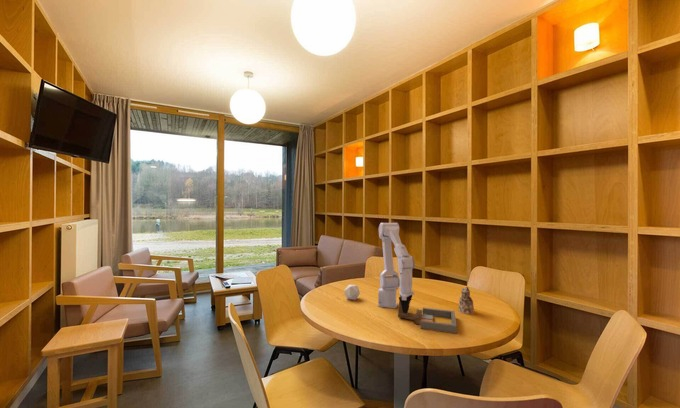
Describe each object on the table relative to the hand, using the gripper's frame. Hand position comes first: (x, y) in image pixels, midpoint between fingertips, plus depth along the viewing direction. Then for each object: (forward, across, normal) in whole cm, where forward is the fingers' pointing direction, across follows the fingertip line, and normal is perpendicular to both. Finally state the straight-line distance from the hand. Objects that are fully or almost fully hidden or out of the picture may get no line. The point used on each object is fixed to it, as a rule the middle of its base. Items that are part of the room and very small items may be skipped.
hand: (405, 311), depth 139 cm
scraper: (+3, 0, -2) cm, 4 cm away
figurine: (+4, +20, -28) cm, 34 cm away
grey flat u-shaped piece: (+3, 0, -14) cm, 14 cm away
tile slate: (+4, +3, -10) cm, 11 cm away
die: (+4, +20, +32) cm, 38 cm away
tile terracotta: (+4, -3, -10) cm, 11 cm away
